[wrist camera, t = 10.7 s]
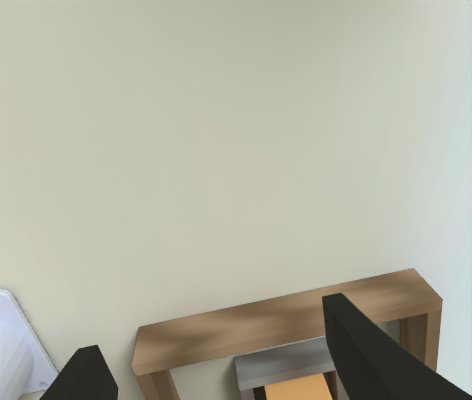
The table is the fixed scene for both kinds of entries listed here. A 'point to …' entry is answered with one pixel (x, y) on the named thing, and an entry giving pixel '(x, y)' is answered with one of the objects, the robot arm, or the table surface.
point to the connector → (299, 389)
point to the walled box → (286, 335)
